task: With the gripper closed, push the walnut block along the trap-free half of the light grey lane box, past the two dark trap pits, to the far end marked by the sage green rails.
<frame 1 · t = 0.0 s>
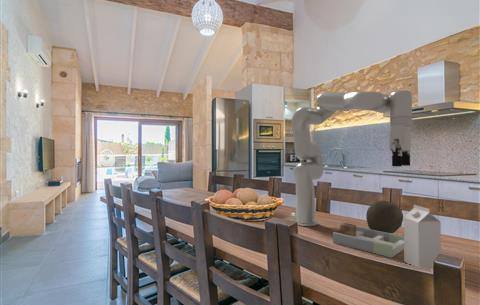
hand: (401, 165, 106), 31 cm above the table, tool pointing down, fingers open, 9 cm apart
walnut block: (348, 236, 110), point 2 cm above the table, touching lane box
milk carton: (421, 266, 86), on the table
lane box: (368, 244, 107), on the table
brown coconut: (384, 235, 119), on the table
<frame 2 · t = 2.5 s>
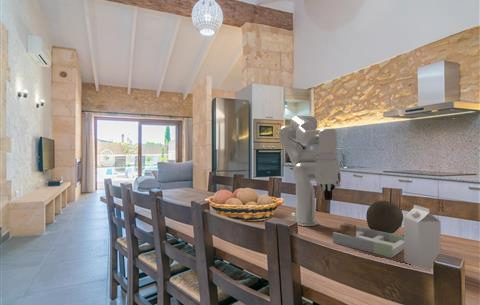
hand: (328, 199, 116), 16 cm above the table, tool pointing down, fingers closed
nothing on the table moved.
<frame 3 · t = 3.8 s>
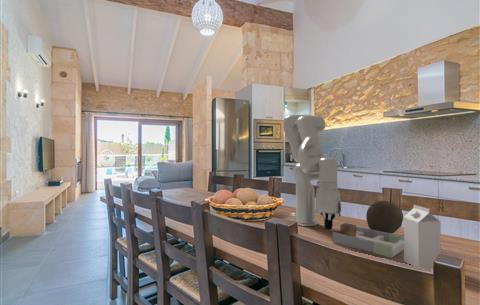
hand: (328, 228, 116), 4 cm above the table, tool pointing down, fingers closed
nothing on the table moved.
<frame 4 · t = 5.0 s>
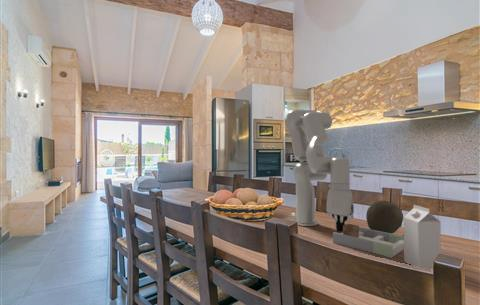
hand: (340, 231, 112), 4 cm above the table, tool pointing down, fingers closed
walnut block: (350, 236, 109), point 2 cm above the table, touching gripper, lane box
everything else where it was.
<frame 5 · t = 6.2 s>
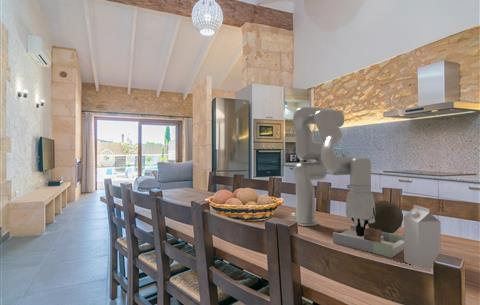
hand: (360, 235, 106), 4 cm above the table, tool pointing down, fingers closed
walnut block: (372, 241, 103), point 3 cm above the table, touching gripper
everything else where it was.
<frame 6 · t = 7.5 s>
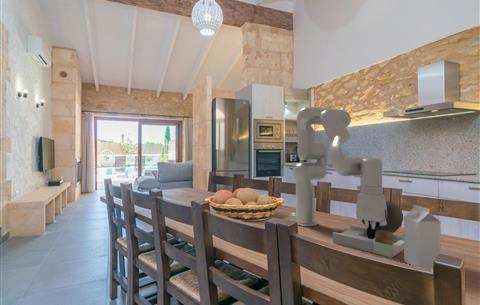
hand: (371, 238, 103), 4 cm above the table, tool pointing down, fingers closed
walnut block: (384, 244, 100), point 2 cm above the table, touching gripper, lane box
everything else where it was.
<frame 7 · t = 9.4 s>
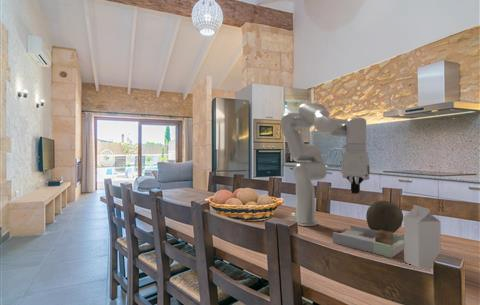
hand: (355, 193, 110), 20 cm above the table, tool pointing down, fingers closed
walnut block: (384, 244, 100), point 2 cm above the table, touching lane box
everything else where it was.
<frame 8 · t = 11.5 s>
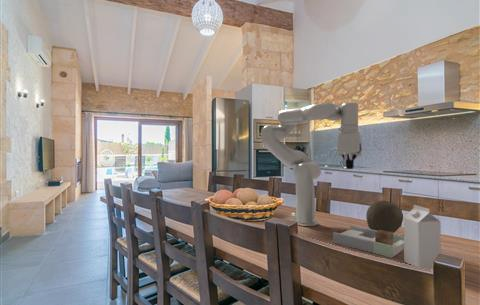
hand: (349, 168, 126), 29 cm above the table, tool pointing down, fingers closed
nothing on the table moved.
at the end: walnut block 1.0 cm from the target spot, point 2.5 cm above the table; walnut block tilted 0° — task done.
